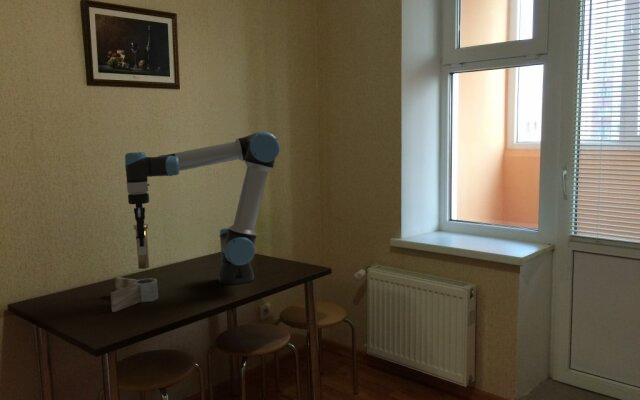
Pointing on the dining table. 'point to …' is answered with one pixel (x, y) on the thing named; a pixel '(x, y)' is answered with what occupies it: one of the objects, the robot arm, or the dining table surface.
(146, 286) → the knuckle barrel
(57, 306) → the dining table surface
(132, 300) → the hinge leaves
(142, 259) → the hinge pin
